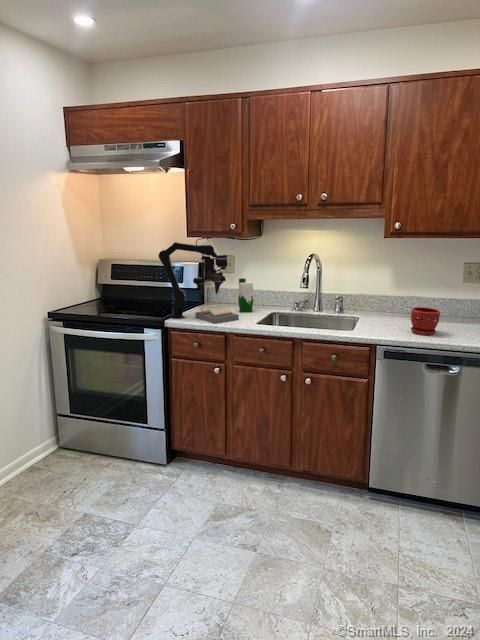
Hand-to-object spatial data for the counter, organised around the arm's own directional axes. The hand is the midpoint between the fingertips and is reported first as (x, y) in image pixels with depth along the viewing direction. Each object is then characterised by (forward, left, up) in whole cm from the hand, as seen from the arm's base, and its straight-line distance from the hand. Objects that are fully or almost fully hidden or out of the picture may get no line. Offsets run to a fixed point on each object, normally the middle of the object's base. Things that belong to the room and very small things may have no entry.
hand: (209, 294), depth 267 cm
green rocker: (+11, 0, -9) cm, 14 cm away
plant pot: (+97, +63, -13) cm, 116 cm away
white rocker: (+1, 0, -9) cm, 10 cm away
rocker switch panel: (+7, 0, -13) cm, 15 cm away
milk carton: (0, +26, -13) cm, 29 cm away
